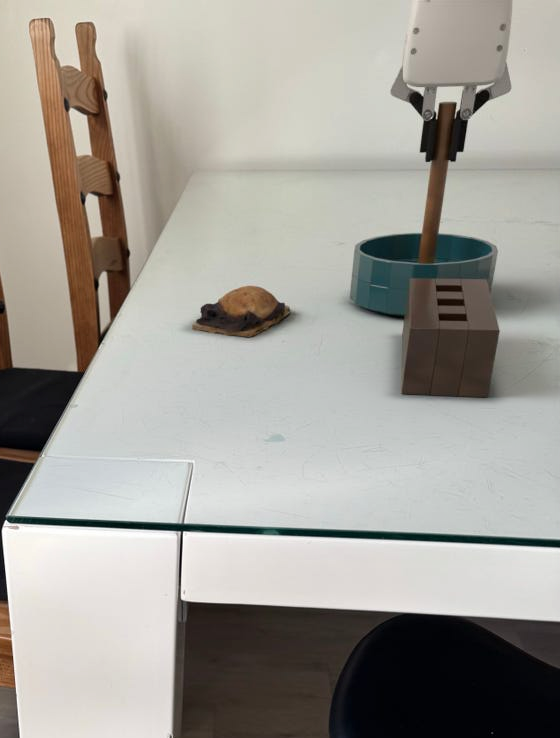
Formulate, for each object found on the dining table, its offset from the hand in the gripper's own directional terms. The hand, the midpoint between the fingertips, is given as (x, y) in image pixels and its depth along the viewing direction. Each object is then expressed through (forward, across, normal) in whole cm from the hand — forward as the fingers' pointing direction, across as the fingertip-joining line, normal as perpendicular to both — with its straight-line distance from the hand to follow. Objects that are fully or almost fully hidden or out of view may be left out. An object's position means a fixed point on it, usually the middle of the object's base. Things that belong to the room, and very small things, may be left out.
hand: (440, 158), depth 109 cm
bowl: (+15, 0, +3) cm, 15 cm away
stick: (+13, 0, 0) cm, 13 cm away
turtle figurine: (+15, +19, +12) cm, 27 cm away
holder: (+15, -2, +25) cm, 29 cm away
